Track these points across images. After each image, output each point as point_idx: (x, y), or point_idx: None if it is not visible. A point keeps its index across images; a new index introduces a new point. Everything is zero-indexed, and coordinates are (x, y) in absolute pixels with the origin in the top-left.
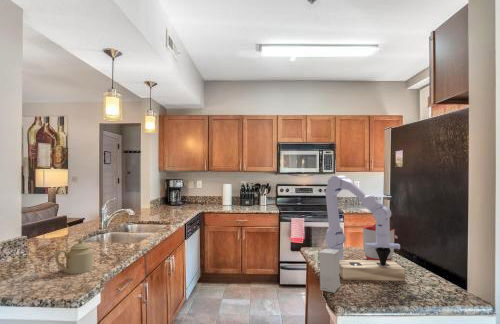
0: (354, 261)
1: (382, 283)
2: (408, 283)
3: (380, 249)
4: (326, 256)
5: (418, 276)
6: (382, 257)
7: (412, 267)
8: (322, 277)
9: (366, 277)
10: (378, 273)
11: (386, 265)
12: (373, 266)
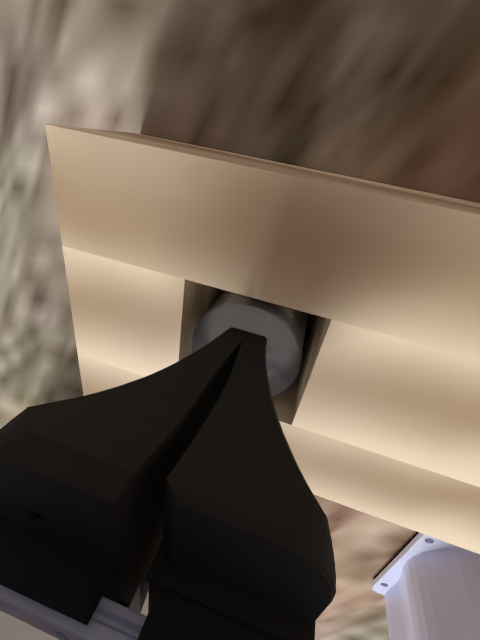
0: None
1: (453, 64)
2: (141, 35)
3: (225, 606)
4: None
5: (4, 223)
6: (249, 396)
7: (4, 376)
8: None
9: None
10: (431, 198)
11: (216, 320)
12: (446, 320)
